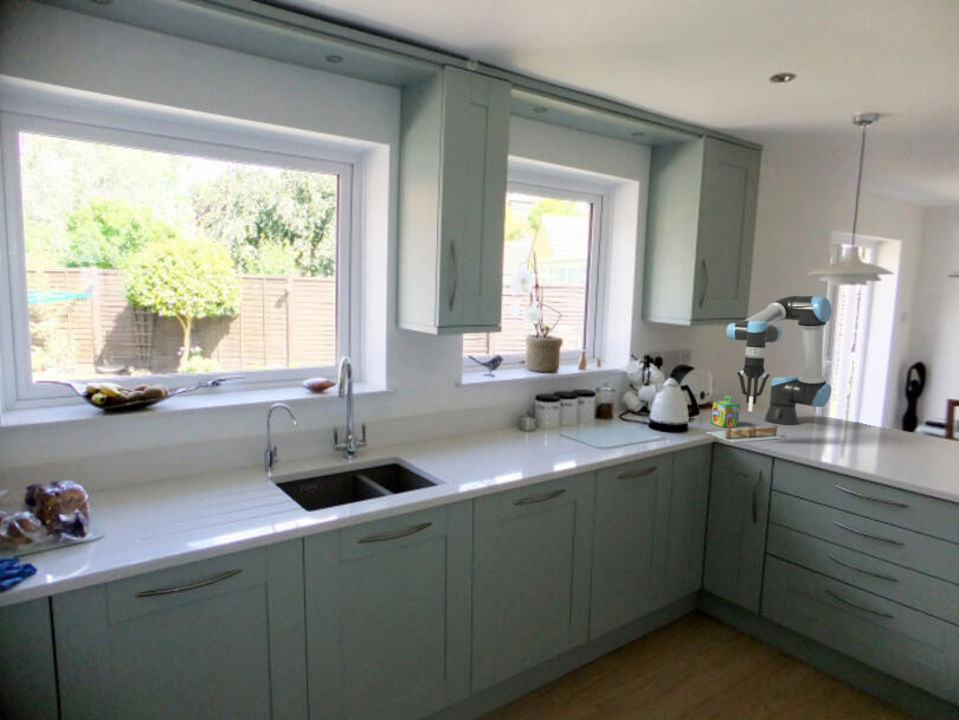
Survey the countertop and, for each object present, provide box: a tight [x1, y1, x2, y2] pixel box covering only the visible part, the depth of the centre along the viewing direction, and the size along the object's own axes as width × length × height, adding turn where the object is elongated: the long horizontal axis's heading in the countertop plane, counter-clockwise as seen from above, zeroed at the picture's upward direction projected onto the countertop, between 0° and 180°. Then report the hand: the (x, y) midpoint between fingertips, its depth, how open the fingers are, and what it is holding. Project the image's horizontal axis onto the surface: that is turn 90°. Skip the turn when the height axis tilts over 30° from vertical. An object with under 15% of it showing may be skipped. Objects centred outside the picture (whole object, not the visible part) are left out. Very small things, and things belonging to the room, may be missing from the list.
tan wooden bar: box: [725, 427, 750, 439], centre depth 261 cm, size 12×2×4 cm, turn 108°
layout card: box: [705, 430, 785, 444], centre depth 268 cm, size 18×28×1 cm, turn 108°
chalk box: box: [710, 394, 741, 429], centre depth 287 cm, size 9×9×15 cm
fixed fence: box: [748, 424, 778, 438], centre depth 265 cm, size 2×15×5 cm, turn 108°
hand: (750, 410), depth 253 cm, fingers closed
